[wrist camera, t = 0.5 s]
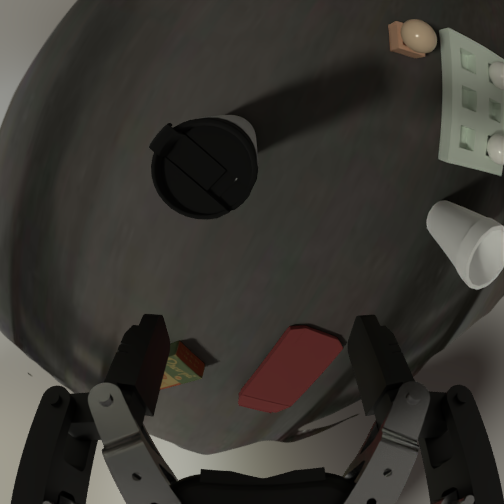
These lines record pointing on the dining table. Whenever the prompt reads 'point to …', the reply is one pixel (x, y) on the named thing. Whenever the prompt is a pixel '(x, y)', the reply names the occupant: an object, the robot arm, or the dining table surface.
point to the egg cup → (400, 41)
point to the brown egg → (418, 36)
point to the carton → (181, 366)
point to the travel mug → (205, 165)
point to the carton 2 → (289, 369)
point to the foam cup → (468, 242)
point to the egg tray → (468, 103)
